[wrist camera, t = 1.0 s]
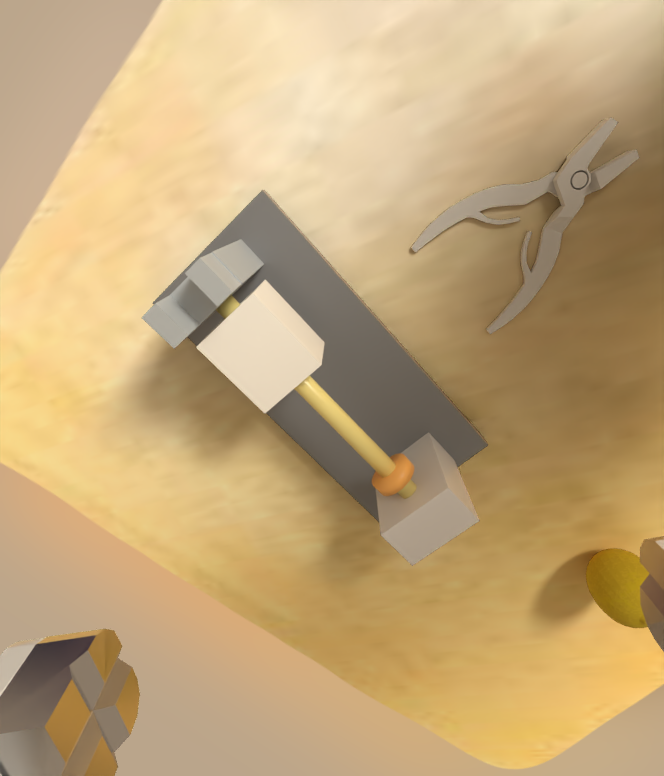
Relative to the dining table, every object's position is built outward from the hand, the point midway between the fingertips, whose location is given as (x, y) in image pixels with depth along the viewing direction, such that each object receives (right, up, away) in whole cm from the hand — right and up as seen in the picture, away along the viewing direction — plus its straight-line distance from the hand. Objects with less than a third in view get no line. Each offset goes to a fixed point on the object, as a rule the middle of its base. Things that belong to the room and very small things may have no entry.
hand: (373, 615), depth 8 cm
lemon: (+25, -12, +40) cm, 48 cm away
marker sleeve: (-5, +7, +27) cm, 29 cm away
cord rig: (-1, +5, +33) cm, 33 cm away
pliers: (+14, +16, +29) cm, 36 cm away
